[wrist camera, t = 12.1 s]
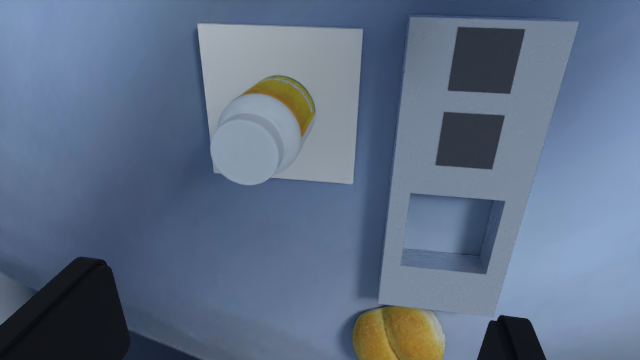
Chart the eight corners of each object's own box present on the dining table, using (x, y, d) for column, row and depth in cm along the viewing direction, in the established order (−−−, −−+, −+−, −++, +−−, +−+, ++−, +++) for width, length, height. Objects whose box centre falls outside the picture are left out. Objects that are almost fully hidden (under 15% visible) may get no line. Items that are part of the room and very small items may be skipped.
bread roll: (340, 313, 40) (336, 344, 37) (424, 289, 38) (428, 321, 34) (373, 366, 43) (372, 401, 40) (454, 348, 40) (461, 383, 37)
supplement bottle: (310, 147, 32) (282, 207, 23) (245, 132, 32) (195, 185, 23) (323, 81, 29) (298, 121, 21) (253, 65, 29) (200, 97, 21)
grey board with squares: (408, 14, 27) (410, 17, 25) (562, 18, 26) (580, 22, 24) (378, 285, 38) (378, 304, 35) (486, 296, 37) (493, 317, 34)
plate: (201, 23, 29) (197, 23, 29) (363, 28, 28) (362, 29, 27) (217, 169, 35) (214, 173, 34) (353, 180, 33) (353, 184, 32)
